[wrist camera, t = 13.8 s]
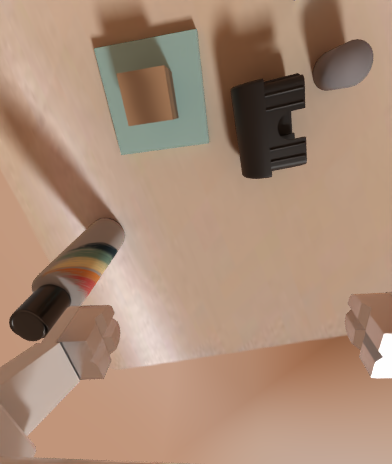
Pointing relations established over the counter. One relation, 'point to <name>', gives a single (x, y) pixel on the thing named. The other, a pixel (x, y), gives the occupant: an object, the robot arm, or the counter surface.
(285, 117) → the end cap
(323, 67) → the grey rounded piece
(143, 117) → the walnut block
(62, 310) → the lotion bottle
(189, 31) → the teal board
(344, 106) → the counter surface
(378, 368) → the robot arm
